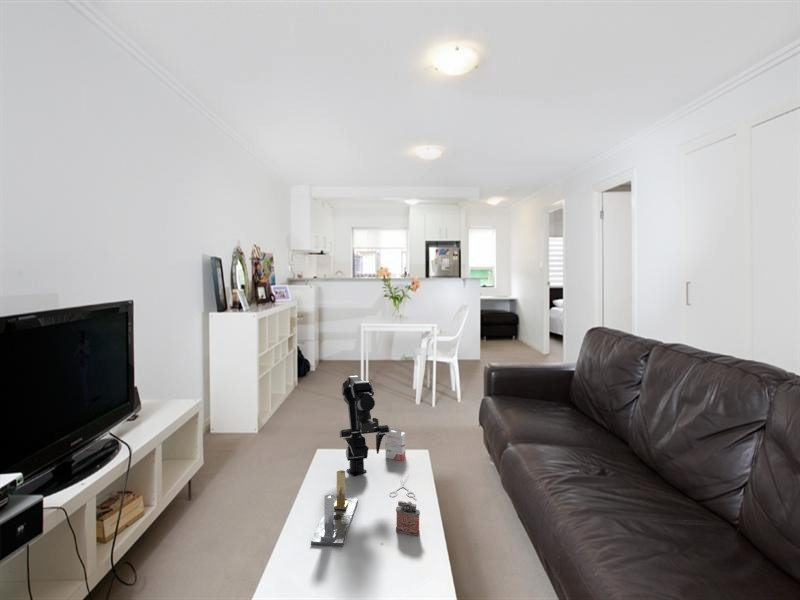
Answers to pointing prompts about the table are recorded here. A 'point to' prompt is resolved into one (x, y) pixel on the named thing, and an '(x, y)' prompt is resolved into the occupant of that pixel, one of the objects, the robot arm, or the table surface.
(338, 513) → the bolt plate
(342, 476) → the gold tapered block
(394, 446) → the ink cartridge box
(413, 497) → the scissors
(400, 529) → the lighter
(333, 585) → the table surface
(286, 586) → the table surface
